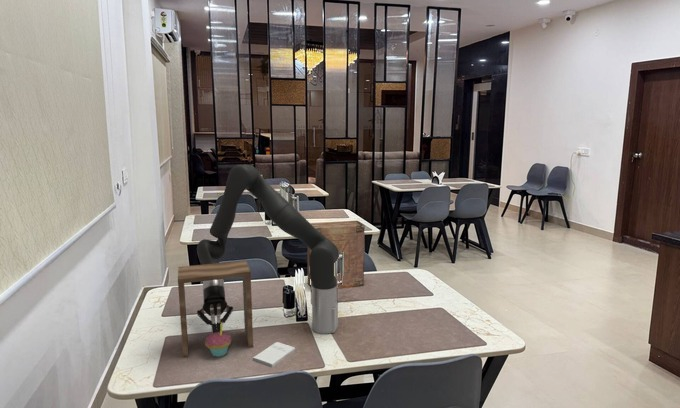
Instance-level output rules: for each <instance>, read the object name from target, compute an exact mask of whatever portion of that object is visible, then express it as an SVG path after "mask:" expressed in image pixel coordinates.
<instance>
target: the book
mask: <svg viewBox="0 0 680 408" xmlns="http://www.w3.org/2000/svg"><path fill="white" fill-rule="evenodd" d="M310 224H311V225H312V226H313V227H314V228H315V229H316V230H317V231H319V232H320V233H321V234H322V235H324V236H325V237H326V238H328V239H329V240H330V241H331V242H333V243H334V244H335V245H336V247H337V249H338V251H339V252H344V276H343V285H340V284H338V289H337V290H339V289H341V290H342V289H349V288H357V287H364V285H365V283H364V281H365V280H364V279H365V227H366V226H365V225H364V224H363V223H361V222H360V221H358V220H355V221H354V220H353V221H351V220H350V221H337V222H335V221H334V222H324V223H322V222H321V223H310ZM310 253H311V249H310V248H309V247H308V246H307V285H308V286H310V274H309V257H310ZM338 281H339V282H340V274H339V273H338Z"/></svg>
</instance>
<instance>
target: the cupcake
mask: <svg viewBox="0 0 680 408" xmlns="http://www.w3.org/2000/svg"><path fill="white" fill-rule="evenodd" d="M222 322H223V321H222ZM223 325H224V323H221V327H220V332H216V333H212V332H211V333H210V334H209V335H207V337H206V339H205V341H204V344H205V347H206V348H208V349H209V350H210V353H211V355H212V356H213V357H223V356H225V355H226V354H227V352H228V348H229V346H230V345H231V343H232V340H233V339H232V337H231V335H230V334H229V333H227V332H225V331H223Z"/></svg>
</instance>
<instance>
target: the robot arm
mask: <svg viewBox="0 0 680 408" xmlns="http://www.w3.org/2000/svg"><path fill="white" fill-rule="evenodd" d="M226 179H227V180H226V185H225V187H224V192H223V195H222V199H221V202H220V204H219V208H218V210H217V212H216V214H215V217H214V219H213V222H212V223H211V226H210V228H209V233H210V235H211V236H213V237H214V238H216V239H217V240H212V239H206V238H205V239H202V240H199V242H198V244H197V245H196V254H197V257H198V260H199V263H200V265H204V264H214V263H221V262H219V260H221V259H222V258H223V257H224V256H225V254H226V250H227V248H226V247H227V241H228V237H229V236H228V235H229V234H230V231H231V229H232V227H233V225H234V222H235V218H236V213H237V206H238V205H239V200H240V198H241V197H242V195H243V193H244V192H245V190H247V191H248V192H249V193H250V194H252V195H253V196H254V197H255V198H256V199H257V200H258V201H259V203H260V204H261V206H262V207H263V208H262V209H263V210H264V211H265V213H266V215H267V216H268V218H269V219H270V220H271V221H272V222H273V223H274V224H275V226H277V227H278V228H279V229H280V230H282V232H284V233H286V234H287V235H290V236H292V237H293V238H295V239H297V240H299V241H300V242H302V243H303V244H304V245H305V246H307V248H308V247H309V248H310V249H311V253H310V257H309V266H310V279H311V281H312V287H311V327H312V328H311V329H312V331H313V332H314V333H317V334H321V335H322V334H323V335H327V334H331V333H333V334H334V333H336V331H337V330H338V327H339V303H338V301H337V291H338V289H337V279H336V277H335V276H334V263H335V262H336V261H337V259H338V257H339V251H338V249H337V247H336V245H335V244H334V243H333V242H331V241H330V240H329V239H328V238H326V237H325V236H324V235H322V234H321V233H320V232H319V231H317V230H316V229H315V228H314V227H313V226H312V225H311V224H312V223H310V222H309V220H307V219H306V218H305V217H304V216H303V214H301V213H300V212H299V211H298V210H297V209H296V208H295V207H294V206H293V204H291V203H290V202H289V201H288V200H287V199H285V197H284V196H282V195H281V193H279V192H278V191H277V190H276V189H274V187H272V185H271V184H270V183H269V182H268V181H267V180H266V179H265V178H264V176H263V175H262V174H261V173H260V172H259V171H258V170H257V168H256V167H254V166H253V165H251V164H246V163H245V164H237V165H234V166H233V167H231V169H230V170H229V173H228V177H227V178H226ZM202 293H203V304H202V308H201V309H198V310H197V311H196V314H197V316H198V317H199V319H201V320H202V321H203V322H204V323H205V324H206V325H207V326H211V331H212V332H211V334H212V333H216V332H220V327H221V323H223V324H225V323H226V321H227V320H228V318H229V317H230V316H231V314H232V313H233V312H234V306H230V305H228V303H227V301H226V291H225V282H224V279H218V280H209V281H202ZM224 312H225V314H224ZM206 314H207V315H208V316H209V317H210V319H209V317H207V315H206ZM223 314H224V315H223ZM222 315H223V317H222V318H221V316H222ZM222 321H223V322H222Z"/></svg>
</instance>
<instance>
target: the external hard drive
mask: <svg viewBox="0 0 680 408" xmlns="http://www.w3.org/2000/svg"><path fill="white" fill-rule="evenodd" d="M295 351H296V347H294V346H291V345H287V344H284V343H282V342H279V341H276V342H274V343H272V344H271V345H270V346H268V347H266V348H265V349H264V350H262V351H260V352H259V353H258V354H256V355H254V356H253V357H252V361H254V362H257V363H259V362H260V364H263V365H266V366H269V367H271V368H274V367H275V366H276V365H277V364H278V363H280V362H281V361H282V360H284V359H285V358H287V357H288V356H289V355H290V354H292V353H293V352H295Z"/></svg>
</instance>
